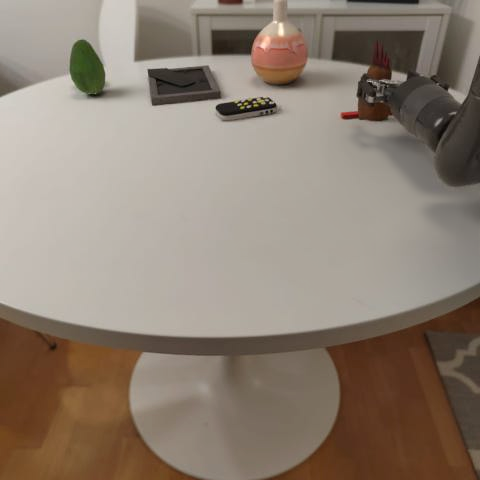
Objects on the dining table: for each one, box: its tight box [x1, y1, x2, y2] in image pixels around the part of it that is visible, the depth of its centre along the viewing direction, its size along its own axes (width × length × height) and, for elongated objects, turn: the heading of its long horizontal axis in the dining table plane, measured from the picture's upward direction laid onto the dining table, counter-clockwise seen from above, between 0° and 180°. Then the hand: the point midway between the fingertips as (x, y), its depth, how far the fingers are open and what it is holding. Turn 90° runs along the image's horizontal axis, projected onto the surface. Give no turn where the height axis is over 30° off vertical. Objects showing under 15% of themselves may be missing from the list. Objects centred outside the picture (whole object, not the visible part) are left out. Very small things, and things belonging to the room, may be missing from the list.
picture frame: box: [146, 65, 222, 106], centre depth 112 cm, size 16×2×21 cm
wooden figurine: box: [357, 40, 393, 122], centre depth 87 cm, size 7×6×15 cm
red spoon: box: [340, 110, 393, 120], centre depth 96 cm, size 19×6×1 cm, turn 98°
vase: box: [250, 0, 309, 86], centre depth 108 cm, size 14×14×18 cm
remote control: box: [215, 95, 278, 122], centre depth 98 cm, size 6×13×2 cm, turn 109°
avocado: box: [68, 38, 106, 95], centre depth 107 cm, size 8×8×12 cm
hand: (386, 77), depth 83 cm, fingers open, 8 cm apart
